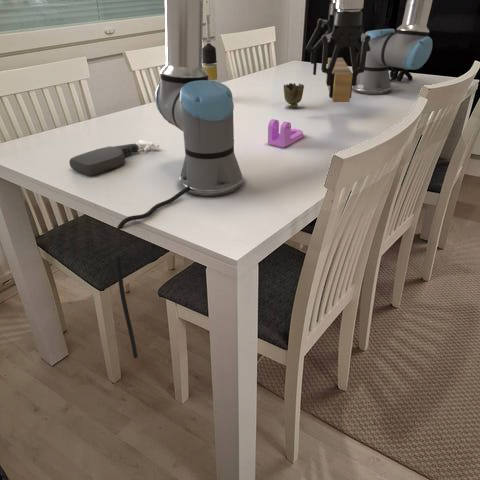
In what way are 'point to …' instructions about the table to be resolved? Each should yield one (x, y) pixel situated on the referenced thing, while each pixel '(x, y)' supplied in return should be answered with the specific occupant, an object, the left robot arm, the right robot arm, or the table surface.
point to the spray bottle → (106, 157)
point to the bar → (341, 81)
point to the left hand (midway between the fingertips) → (339, 96)
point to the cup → (293, 94)
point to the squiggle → (400, 74)
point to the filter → (209, 56)
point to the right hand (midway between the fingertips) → (335, 74)
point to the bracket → (282, 134)
